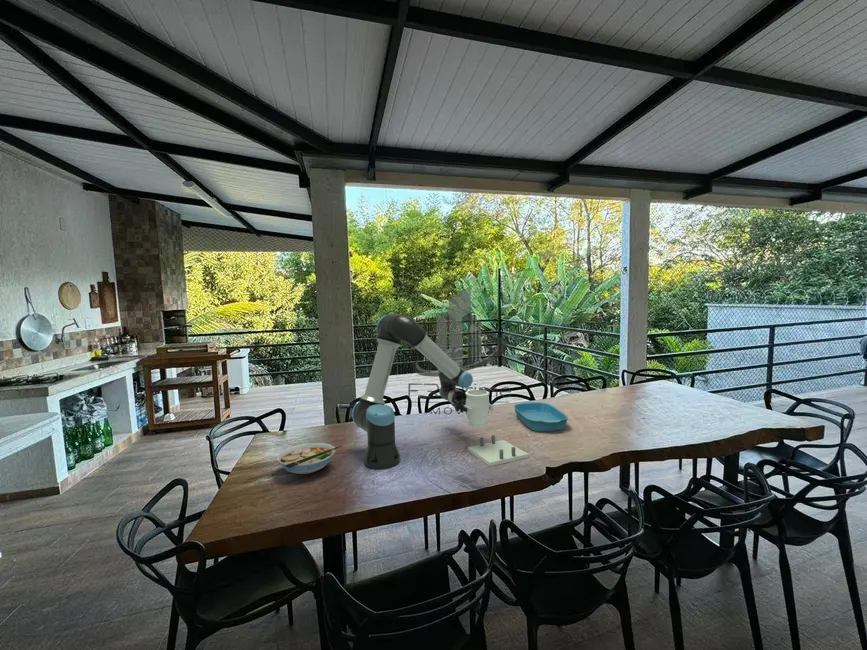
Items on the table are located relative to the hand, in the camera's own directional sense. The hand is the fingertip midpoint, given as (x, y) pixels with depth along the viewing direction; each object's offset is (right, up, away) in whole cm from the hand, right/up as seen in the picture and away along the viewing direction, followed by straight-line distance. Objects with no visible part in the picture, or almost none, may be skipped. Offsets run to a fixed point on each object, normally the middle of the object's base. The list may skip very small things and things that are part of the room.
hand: (482, 410), depth 169 cm
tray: (+6, -19, -1) cm, 20 cm away
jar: (-1, -8, +5) cm, 9 cm away
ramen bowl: (-73, -23, -11) cm, 77 cm away
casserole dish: (+36, -16, +39) cm, 56 cm away
